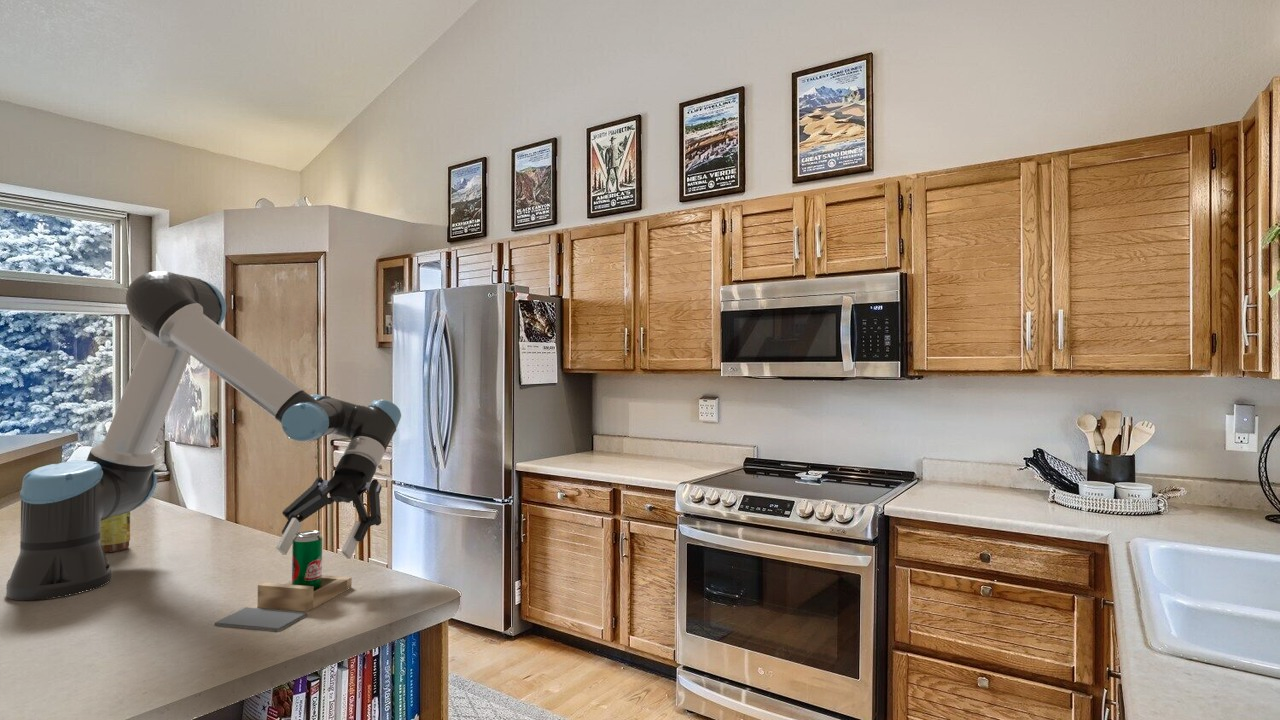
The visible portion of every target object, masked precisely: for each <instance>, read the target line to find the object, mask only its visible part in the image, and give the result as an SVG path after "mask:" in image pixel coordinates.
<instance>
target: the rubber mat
mask: <svg viewBox="0 0 1280 720" xmlns="http://www.w3.org/2000/svg"><path fill="white" fill-rule="evenodd" d="M307 616H308V612H304V611H292V610H281V609H269V608H257V607H248V606H246V607H243V608H242V609H239V610H238V611H236V612H233V613H231V614H229V615H227V616H225V617H222V618H221V619H219V620H217V621H215V622H214V626H217V627H228V628H229V627H230V628H240V629H248V630H249V629H250V630H260V631H268V632H269V631H273V632H280V631H281V630H284V629H286V628H288V627H290V626H291V625H293V624H295V623H296V622H298V621H300V620H301V619H304V618H305V617H307Z"/></svg>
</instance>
